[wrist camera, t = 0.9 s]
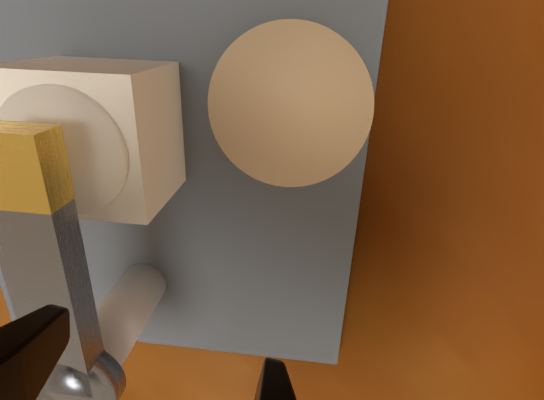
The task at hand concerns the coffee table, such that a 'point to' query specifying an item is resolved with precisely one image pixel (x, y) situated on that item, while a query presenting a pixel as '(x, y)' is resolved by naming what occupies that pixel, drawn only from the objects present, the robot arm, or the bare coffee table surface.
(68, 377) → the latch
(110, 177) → the beige cube
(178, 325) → the board
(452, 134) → the coffee table surface
